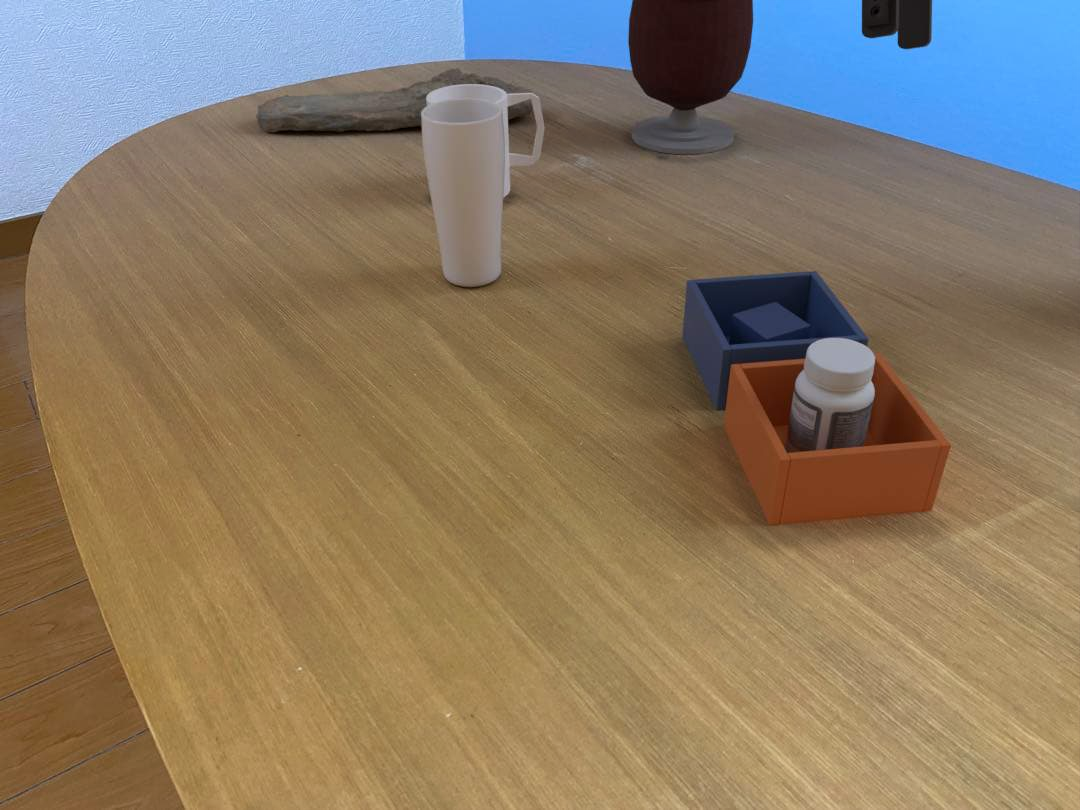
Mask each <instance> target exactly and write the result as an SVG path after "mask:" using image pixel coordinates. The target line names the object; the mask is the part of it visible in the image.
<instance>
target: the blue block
mask: <svg viewBox="0 0 1080 810" xmlns="http://www.w3.org/2000/svg"><path fill="white" fill-rule="evenodd" d="M809 331H810V325H809V324H808V323H806V322H805V321H803V320H802V319H800V318H799V317H797V316H796V315H794V314H793V313H792V312H790V311H789V310H787V309H786V308H784V307H783V306H781V305H780V304H778V303H777V302H774V303H770V304H767V305H763V306H760V307H756V308H753V309H749V310H746V311H742V312H739V313H735V314H733V316H732V324H731V333H730V342H729V345H735V344H748V343H761V342H774V341H787V340H800V339H808V337H809Z"/></svg>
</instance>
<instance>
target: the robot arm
mask: <svg viewBox="0 0 1080 810" xmlns="http://www.w3.org/2000/svg"><path fill="white" fill-rule="evenodd" d="M932 24H933V0H861V34H862V35H863V37H865V38H867V39H878V38H884V37H890V36H893V35H895V34H897V46H898V47H899V48H900V49H903V50H911V49H919V48H926V47H928V46H929V45H930V43H931V42H932V34H933V33H932V32H933V31H932V28H933V27H932V26H933V25H932Z"/></svg>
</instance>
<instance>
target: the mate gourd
mask: <svg viewBox="0 0 1080 810" xmlns="http://www.w3.org/2000/svg"><path fill="white" fill-rule="evenodd" d="M628 18H629V19H628V39H627V40H628V41H627V42H628V54H629V62H630V67H631V72H632V76H633V78H634V79H635V81H636V82H637V84H638V85H639V86H640V88H641V90H642V91H643V93H644V94H645V95H646V96H648V97H649V98H651V99H653V100H656V101H659V102H660V103H663V104H666V105H668V106H670V107H672V110H671V113H670V114H665V115H659V116H652V117H648V118H645V119H642V120H640V121H638V122H637V123H635V124H634V125H633V126H632V129H631V139H632V140H633V142H634V143H635V144H637V145H638V146H639V147H642V148H644V149H647V150H650V151H653V152H657V153H664V154H670V155H682V156H683V155H701V154H702V155H704V154H710V153H715V152H717V151H722V150H723V149H726V148H728V147H729V146H730V145H732V144H733V142H734V140H735V139H734V138H735V131H734V129H733V127H731V125H729V124H727V123H726V122H723V121H721V120H719V119H715V118H711V117H707V116H701V115H698V112H697V109H696V108H699V107H702V106H704V105H707V104H711V103H714V102H718V101H719V100H722V99H723V98H725V97H727V95H728V94H729V93H730V92H731V91H732V89H733V88H735V85H737V84H738V82H739V81H740V80H741V79H742V77H743V74H744V72H745V69H746V65H747V63H748V58H749V55H750V50H751V47H752V37H753V29H754V28H753V26H754V1H753V0H631V5H630V13H629V17H628Z"/></svg>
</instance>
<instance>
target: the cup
mask: <svg viewBox="0 0 1080 810" xmlns="http://www.w3.org/2000/svg"><path fill="white" fill-rule="evenodd" d="M532 93H533V92H532ZM532 93H516V94H507V93H506V92H505V91H504V90H502V89H500V88H497V87H494V86H489V85H481V84H462V85H453V86H447V87H443V88H439V89H437V90H434V91H432V92H430V93H429V94H428V95H427V97H426V101H427V106H428V105H430V104H433V103H436V102H439V101H443V100H449V99H458V98H474V99H483V100H488V101H491V102H494V103H496V104H498V105H499V106H500V107H501V108H502V115H503V125H504V139H505V173H504V194H503V198H505V197H507V196H508V195H509V193H510V192H511V167H528V166H529V167H530V166H534V165H535V163H536V162H537V161H538V160H539V159H540V158H541V153H542V148H543V143H544V135H545V130H546V129H545V128H546V127H545V122H544V117H543V111H542V105H541V101H540V97H539V96H537V95H536V94H534V93H533V94H532ZM528 99H531V101H532V105H533V113H534V119H535V124H536V131H535V137H534V143H533V149H532V155H527V154H521V153H515V152H514V153H513V152H510V139H509V137H510V136H509V119H508V109H507V107H508V106H511V105H514V104H517V103H520V102H523V101H526V100H528Z"/></svg>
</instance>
